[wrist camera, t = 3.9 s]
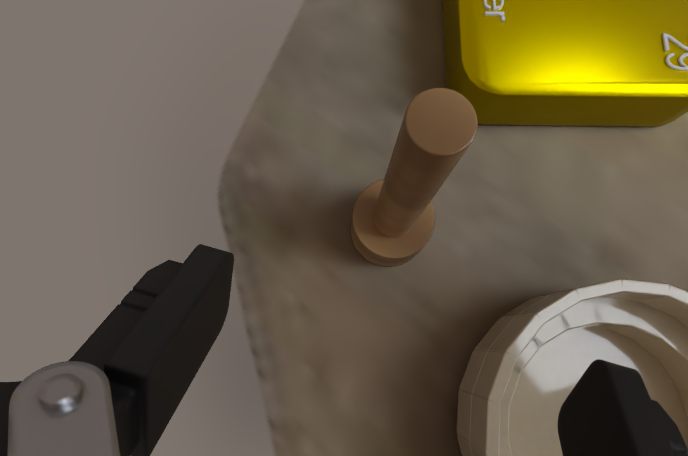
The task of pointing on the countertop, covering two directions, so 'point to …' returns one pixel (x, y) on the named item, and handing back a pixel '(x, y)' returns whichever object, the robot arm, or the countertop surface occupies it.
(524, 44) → the element tile
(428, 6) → the countertop surface
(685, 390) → the bowl
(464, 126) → the wooden pestle
